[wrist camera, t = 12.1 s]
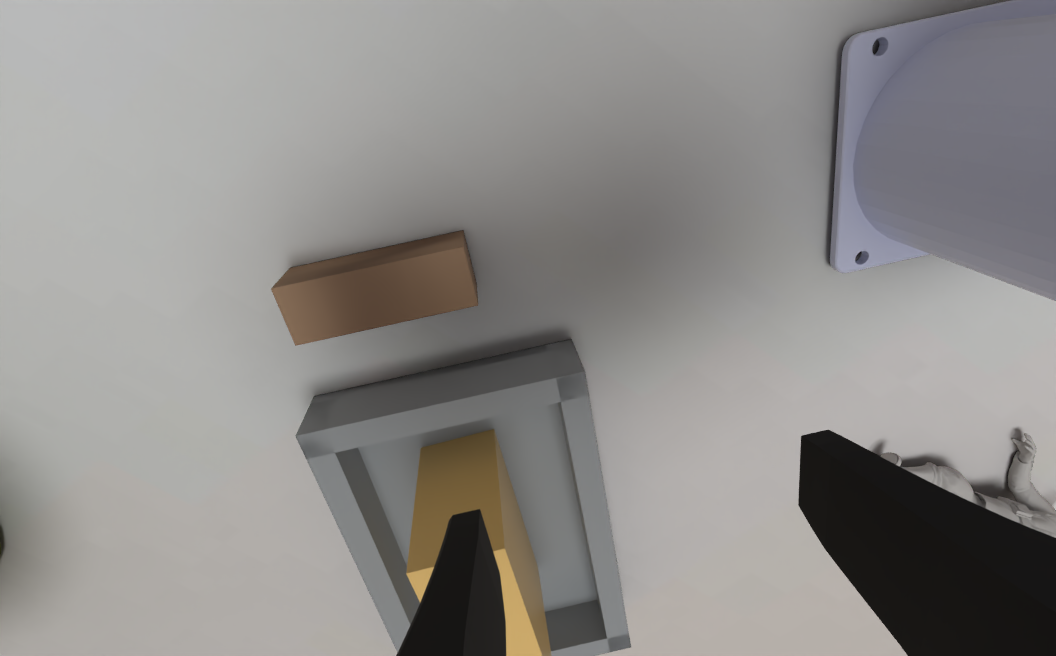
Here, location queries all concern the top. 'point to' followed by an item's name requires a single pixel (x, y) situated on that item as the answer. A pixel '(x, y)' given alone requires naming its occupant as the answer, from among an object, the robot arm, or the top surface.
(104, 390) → the top surface
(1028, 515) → the soldier figure
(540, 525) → the tray
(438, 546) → the block
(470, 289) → the brown block pair
